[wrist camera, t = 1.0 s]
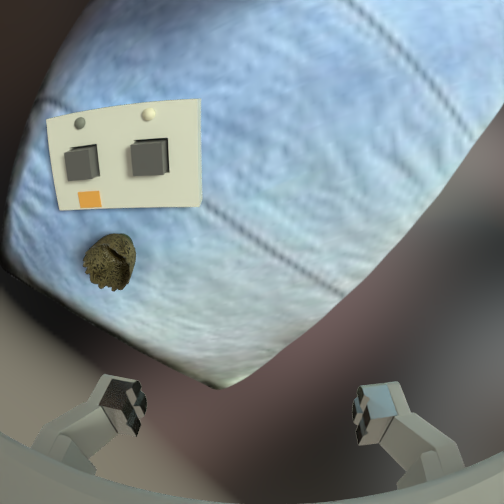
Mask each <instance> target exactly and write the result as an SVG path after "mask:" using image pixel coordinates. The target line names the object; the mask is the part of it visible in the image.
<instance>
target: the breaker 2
mask: <svg viewBox="0 0 504 504" xmlns="http://www.w3.org/2000/svg"><path fill="white" fill-rule="evenodd" d="M130 148H131V160H132V172H133V176H152V175H164V174H165V173H166V172H167V171H168V169H169V150H168V139H152V140H139V141H137V142H135V143H133V144H131V145H130Z"/></svg>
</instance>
